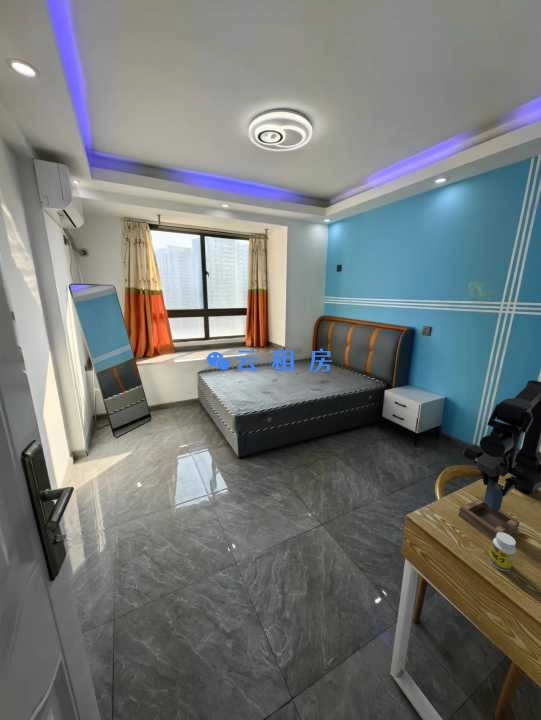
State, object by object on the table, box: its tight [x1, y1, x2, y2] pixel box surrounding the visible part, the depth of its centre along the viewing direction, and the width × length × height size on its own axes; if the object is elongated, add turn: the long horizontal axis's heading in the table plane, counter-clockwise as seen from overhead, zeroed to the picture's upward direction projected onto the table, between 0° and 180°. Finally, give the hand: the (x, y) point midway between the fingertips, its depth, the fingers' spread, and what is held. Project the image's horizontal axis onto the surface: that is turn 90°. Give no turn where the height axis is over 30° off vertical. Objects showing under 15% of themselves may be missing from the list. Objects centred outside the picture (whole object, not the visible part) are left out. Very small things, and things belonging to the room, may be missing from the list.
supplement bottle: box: [488, 532, 517, 572], centre depth 77 cm, size 5×5×8 cm
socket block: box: [458, 497, 520, 541], centre depth 90 cm, size 11×11×3 cm
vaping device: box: [483, 475, 504, 511], centre depth 88 cm, size 3×5×12 cm, turn 174°
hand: (494, 490), depth 88 cm, fingers closed on vaping device, 5 cm apart
